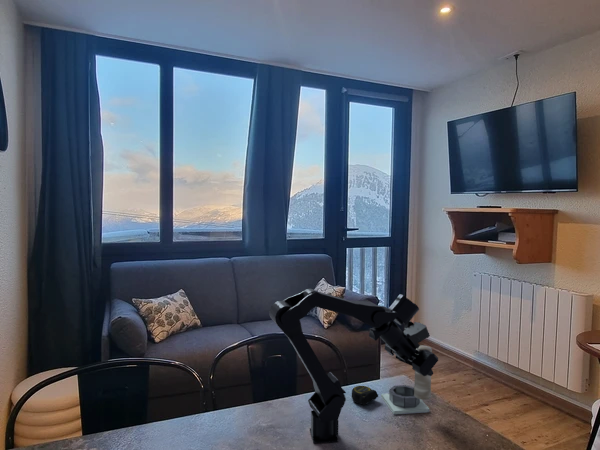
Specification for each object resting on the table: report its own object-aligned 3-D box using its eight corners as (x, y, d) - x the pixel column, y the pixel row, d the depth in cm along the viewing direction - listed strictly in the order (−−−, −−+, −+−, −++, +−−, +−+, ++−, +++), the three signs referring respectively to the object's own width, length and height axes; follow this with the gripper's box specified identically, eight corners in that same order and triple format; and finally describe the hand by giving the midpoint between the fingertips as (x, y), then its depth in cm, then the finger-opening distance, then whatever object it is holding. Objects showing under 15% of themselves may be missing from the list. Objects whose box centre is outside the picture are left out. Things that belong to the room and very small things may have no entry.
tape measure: (363, 409, 122) (364, 396, 122) (346, 400, 128) (347, 389, 127) (378, 402, 127) (378, 390, 127) (361, 394, 132) (361, 382, 132)
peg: (419, 400, 114) (420, 351, 113) (411, 393, 118) (412, 345, 118) (433, 399, 115) (435, 350, 114) (425, 391, 119) (426, 344, 119)
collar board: (393, 414, 119) (393, 411, 119) (381, 396, 130) (381, 393, 130) (429, 412, 120) (429, 408, 120) (414, 394, 131) (414, 391, 131)
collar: (396, 408, 120) (396, 398, 120) (386, 395, 129) (386, 386, 129) (423, 406, 121) (423, 397, 121) (412, 393, 130) (412, 384, 130)
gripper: (433, 324, 106) (466, 361, 110) (394, 307, 123) (424, 339, 127) (406, 357, 103) (441, 394, 107) (370, 335, 121) (402, 367, 125)
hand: (426, 371), depth 117 cm, fingers closed on peg, 4 cm apart
